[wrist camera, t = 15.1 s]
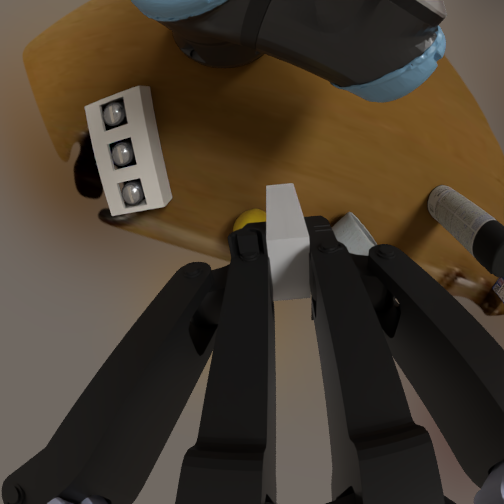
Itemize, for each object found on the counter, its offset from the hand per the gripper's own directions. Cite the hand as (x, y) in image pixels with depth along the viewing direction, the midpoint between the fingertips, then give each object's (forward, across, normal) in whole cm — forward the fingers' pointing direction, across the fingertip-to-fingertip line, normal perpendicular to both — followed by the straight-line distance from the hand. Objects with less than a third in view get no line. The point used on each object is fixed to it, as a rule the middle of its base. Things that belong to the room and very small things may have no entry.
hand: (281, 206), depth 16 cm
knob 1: (+26, -22, +10) cm, 35 cm away
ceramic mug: (+27, +11, -17) cm, 34 cm away
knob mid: (+26, -22, +3) cm, 34 cm away
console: (+26, -22, +3) cm, 35 cm away
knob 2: (+26, -22, -4) cm, 34 cm away
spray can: (+27, +30, -11) cm, 42 cm away
